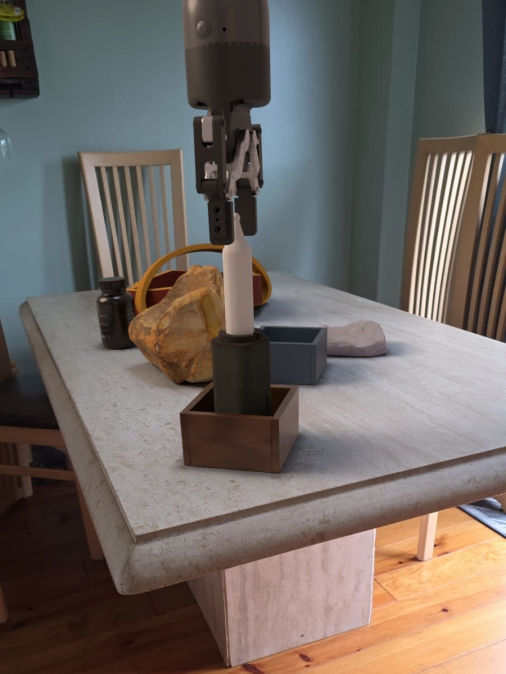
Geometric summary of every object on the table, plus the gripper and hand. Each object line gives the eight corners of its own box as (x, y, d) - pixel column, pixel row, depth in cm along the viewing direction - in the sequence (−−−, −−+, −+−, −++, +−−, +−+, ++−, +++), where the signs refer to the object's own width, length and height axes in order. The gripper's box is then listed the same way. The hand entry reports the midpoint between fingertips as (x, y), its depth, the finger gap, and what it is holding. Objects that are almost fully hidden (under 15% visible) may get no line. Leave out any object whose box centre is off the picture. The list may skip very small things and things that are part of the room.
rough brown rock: (146, 354, 111) (129, 269, 105) (238, 343, 111) (227, 257, 104) (123, 402, 90) (100, 299, 84) (236, 389, 90) (222, 285, 83)
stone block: (390, 365, 103) (376, 339, 112) (392, 339, 101) (378, 314, 109) (319, 371, 103) (311, 344, 111) (319, 345, 100) (311, 319, 108)
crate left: (298, 434, 74) (298, 386, 71) (279, 473, 64) (278, 419, 62) (213, 428, 76) (211, 381, 74) (183, 465, 67) (179, 413, 64)
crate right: (326, 364, 99) (327, 327, 97) (316, 385, 90) (316, 344, 88) (262, 361, 102) (261, 325, 99) (245, 381, 93) (244, 342, 90)
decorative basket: (239, 303, 158) (231, 241, 154) (309, 302, 134) (301, 229, 130) (114, 325, 142) (101, 257, 137) (168, 329, 118) (154, 247, 113)
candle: (248, 462, 67) (239, 215, 57) (212, 451, 70) (198, 214, 60) (276, 446, 71) (272, 211, 60) (241, 436, 74) (231, 210, 63)
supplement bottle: (129, 338, 119) (121, 274, 114) (145, 345, 114) (138, 278, 109) (95, 344, 116) (86, 278, 111) (111, 351, 110) (102, 283, 106)
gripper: (247, 25, 47) (253, 248, 54) (285, 54, 60) (287, 232, 66) (155, 34, 49) (173, 249, 56) (211, 60, 62) (220, 233, 68)
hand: (235, 239), depth 61 cm, fingers open, 8 cm apart
